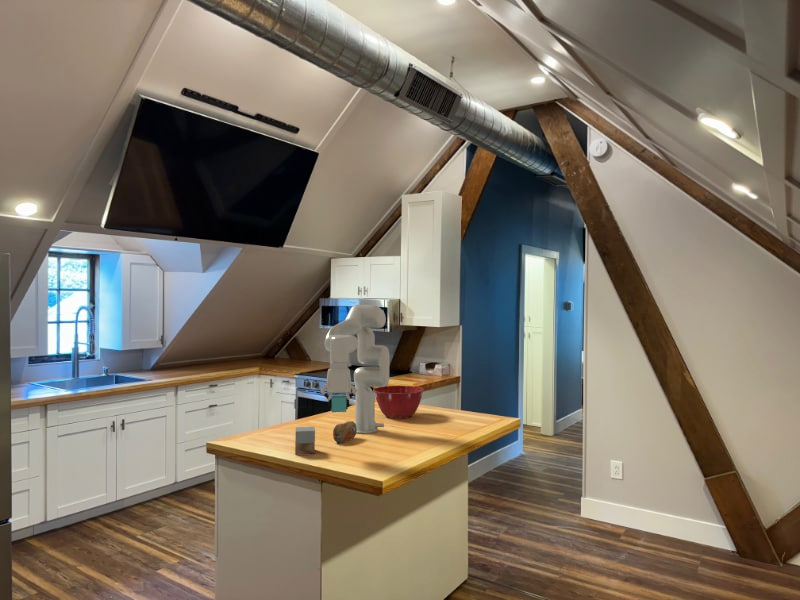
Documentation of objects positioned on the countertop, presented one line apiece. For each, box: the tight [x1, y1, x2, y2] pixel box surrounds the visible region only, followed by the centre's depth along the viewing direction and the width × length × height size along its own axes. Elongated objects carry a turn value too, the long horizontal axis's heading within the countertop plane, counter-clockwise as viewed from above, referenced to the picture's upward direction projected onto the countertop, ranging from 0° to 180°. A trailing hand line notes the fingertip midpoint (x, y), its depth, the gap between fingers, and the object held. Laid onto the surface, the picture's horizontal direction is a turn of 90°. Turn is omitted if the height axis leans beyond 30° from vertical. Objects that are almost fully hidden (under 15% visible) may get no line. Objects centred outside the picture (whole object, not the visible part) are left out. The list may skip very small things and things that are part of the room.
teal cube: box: [330, 394, 347, 413], centre depth 237 cm, size 6×6×6 cm
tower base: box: [294, 438, 316, 456], centre depth 240 cm, size 8×8×5 cm
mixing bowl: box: [373, 385, 424, 419], centre depth 317 cm, size 28×28×16 cm
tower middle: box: [295, 426, 316, 443], centre depth 240 cm, size 8×8×5 cm
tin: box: [332, 421, 357, 444], centre depth 261 cm, size 15×3×8 cm, turn 148°
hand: (338, 408), depth 237 cm, fingers closed on teal cube, 6 cm apart
